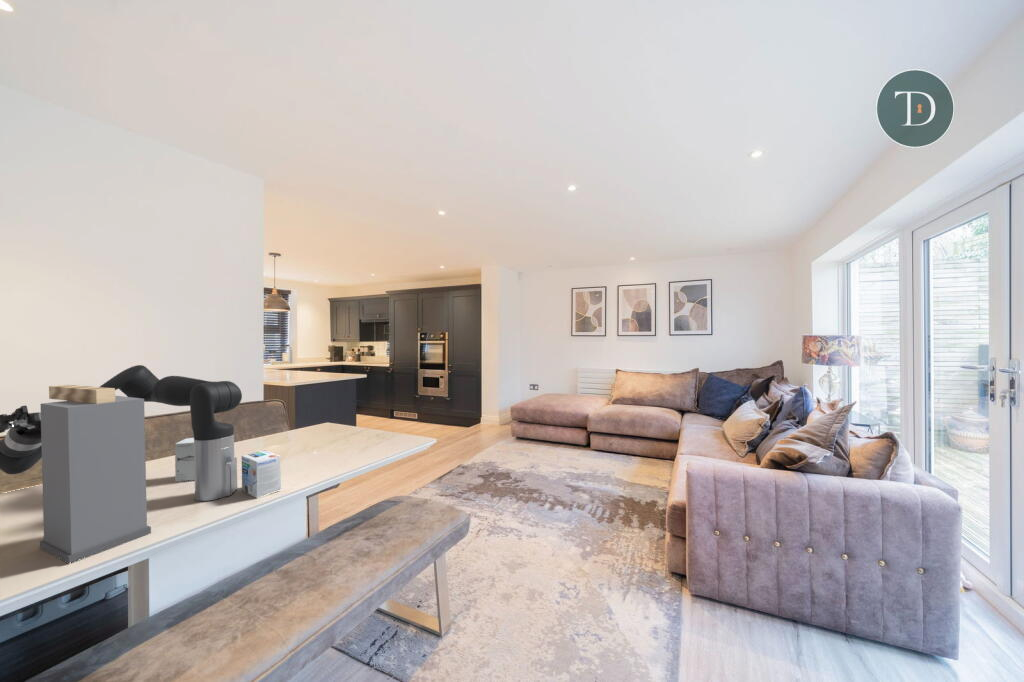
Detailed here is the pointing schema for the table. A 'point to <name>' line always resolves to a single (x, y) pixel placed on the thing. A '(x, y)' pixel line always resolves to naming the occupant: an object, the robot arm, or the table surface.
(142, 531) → the charcoal pedestal
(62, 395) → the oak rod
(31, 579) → the table surface
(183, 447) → the supplement box
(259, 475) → the light bulb box
